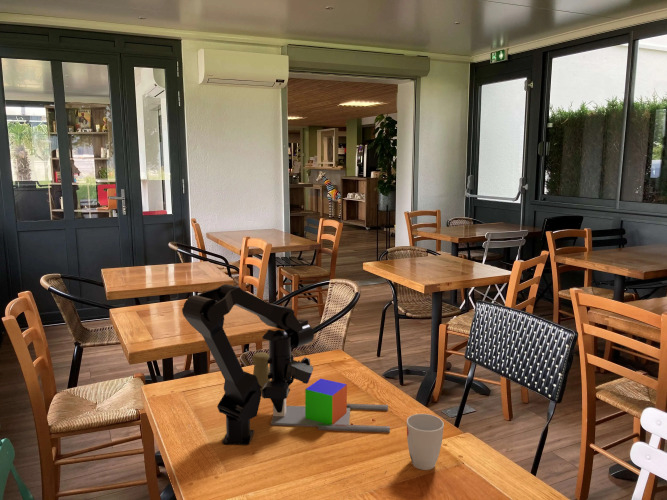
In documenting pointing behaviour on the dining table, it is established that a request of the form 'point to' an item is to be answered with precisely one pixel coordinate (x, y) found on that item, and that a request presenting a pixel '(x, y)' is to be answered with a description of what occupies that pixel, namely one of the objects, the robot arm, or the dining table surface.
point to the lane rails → (358, 427)
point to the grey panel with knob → (300, 417)
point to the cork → (261, 368)
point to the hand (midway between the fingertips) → (280, 409)
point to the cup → (424, 440)
